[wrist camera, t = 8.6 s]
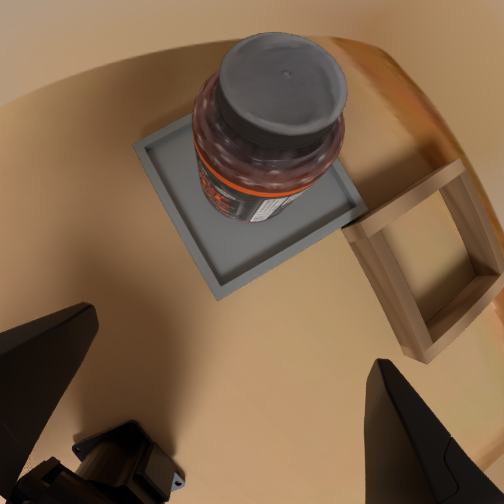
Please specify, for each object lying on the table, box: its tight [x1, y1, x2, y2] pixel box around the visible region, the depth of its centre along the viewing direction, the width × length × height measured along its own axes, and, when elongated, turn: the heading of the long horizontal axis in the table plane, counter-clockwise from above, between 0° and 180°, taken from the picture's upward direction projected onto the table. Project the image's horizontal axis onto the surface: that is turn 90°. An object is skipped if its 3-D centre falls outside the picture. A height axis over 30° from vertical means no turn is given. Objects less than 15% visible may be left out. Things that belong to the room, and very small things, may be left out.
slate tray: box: [132, 112, 368, 301], centre depth 20 cm, size 11×11×2 cm
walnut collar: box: [341, 158, 504, 364], centre depth 20 cm, size 10×10×3 cm
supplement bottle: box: [192, 32, 348, 223], centre depth 14 cm, size 6×6×11 cm
